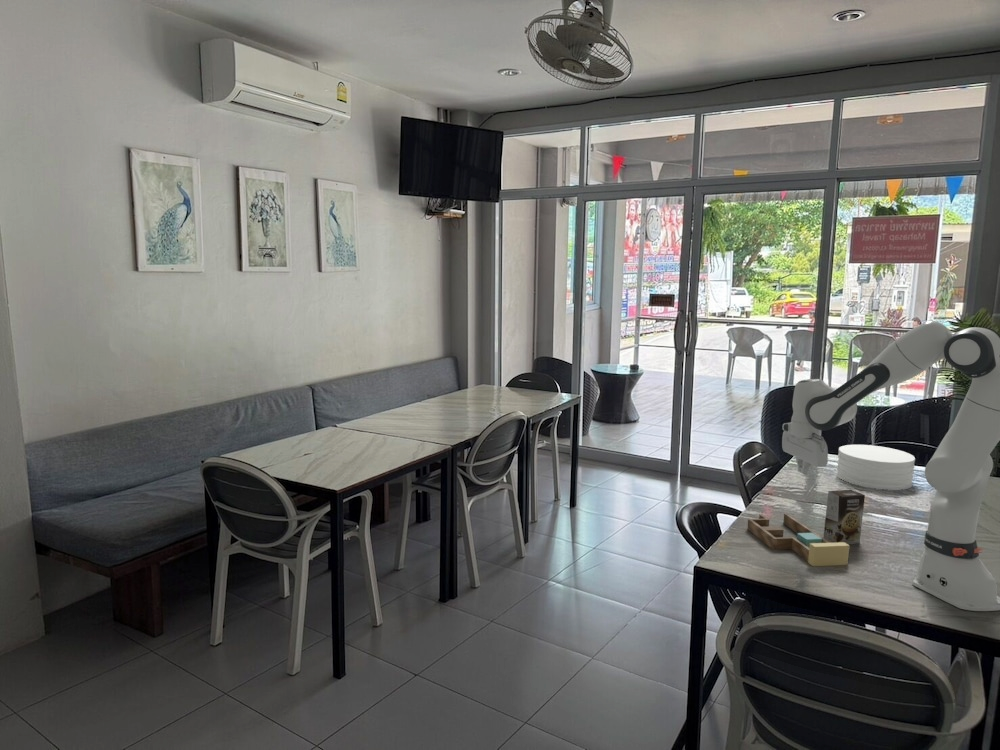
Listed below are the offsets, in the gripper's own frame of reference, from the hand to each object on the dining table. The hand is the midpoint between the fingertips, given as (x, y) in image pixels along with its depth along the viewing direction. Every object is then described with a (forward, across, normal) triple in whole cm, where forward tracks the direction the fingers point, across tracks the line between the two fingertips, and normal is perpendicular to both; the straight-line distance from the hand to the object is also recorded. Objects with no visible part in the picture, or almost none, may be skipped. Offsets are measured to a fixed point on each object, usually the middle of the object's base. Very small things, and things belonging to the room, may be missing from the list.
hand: (802, 472), depth 219 cm
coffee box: (+23, -1, -15) cm, 27 cm away
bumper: (+23, -17, 0) cm, 28 cm away
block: (+23, -8, +1) cm, 24 cm away
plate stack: (+23, +61, -69) cm, 95 cm away
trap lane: (+23, 0, +3) cm, 23 cm away
